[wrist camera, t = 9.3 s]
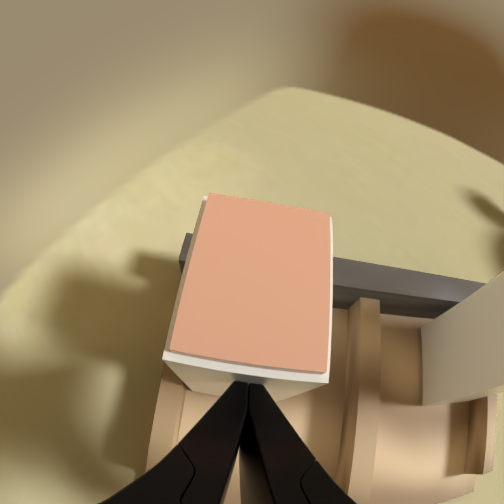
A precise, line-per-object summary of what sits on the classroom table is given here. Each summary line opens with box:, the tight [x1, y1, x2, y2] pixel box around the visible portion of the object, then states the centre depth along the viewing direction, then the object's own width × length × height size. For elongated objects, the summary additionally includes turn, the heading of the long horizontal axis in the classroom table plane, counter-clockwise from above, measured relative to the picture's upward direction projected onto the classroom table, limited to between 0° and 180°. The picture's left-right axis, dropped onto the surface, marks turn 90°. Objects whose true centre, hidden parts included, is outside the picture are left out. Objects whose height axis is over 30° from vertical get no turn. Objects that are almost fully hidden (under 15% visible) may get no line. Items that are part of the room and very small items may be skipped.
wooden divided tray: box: [145, 233, 497, 504], centre depth 14 cm, size 14×20×4 cm
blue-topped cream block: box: [421, 270, 504, 406], centre depth 12 cm, size 5×4×9 cm
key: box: [162, 193, 333, 402], centre depth 12 cm, size 5×4×9 cm
